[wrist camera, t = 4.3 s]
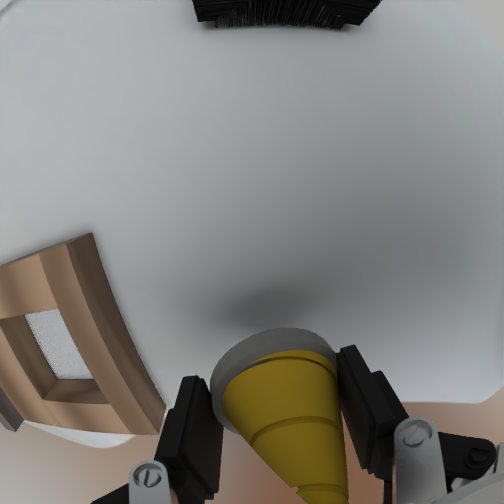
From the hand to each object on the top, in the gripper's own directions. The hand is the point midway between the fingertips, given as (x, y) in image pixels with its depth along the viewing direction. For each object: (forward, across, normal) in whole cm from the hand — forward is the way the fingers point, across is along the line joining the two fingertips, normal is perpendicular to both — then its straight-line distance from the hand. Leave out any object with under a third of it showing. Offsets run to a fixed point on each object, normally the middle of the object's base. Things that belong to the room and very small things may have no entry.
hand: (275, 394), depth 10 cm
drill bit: (+4, 0, 0) cm, 4 cm away
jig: (+7, +18, 0) cm, 19 cm away
